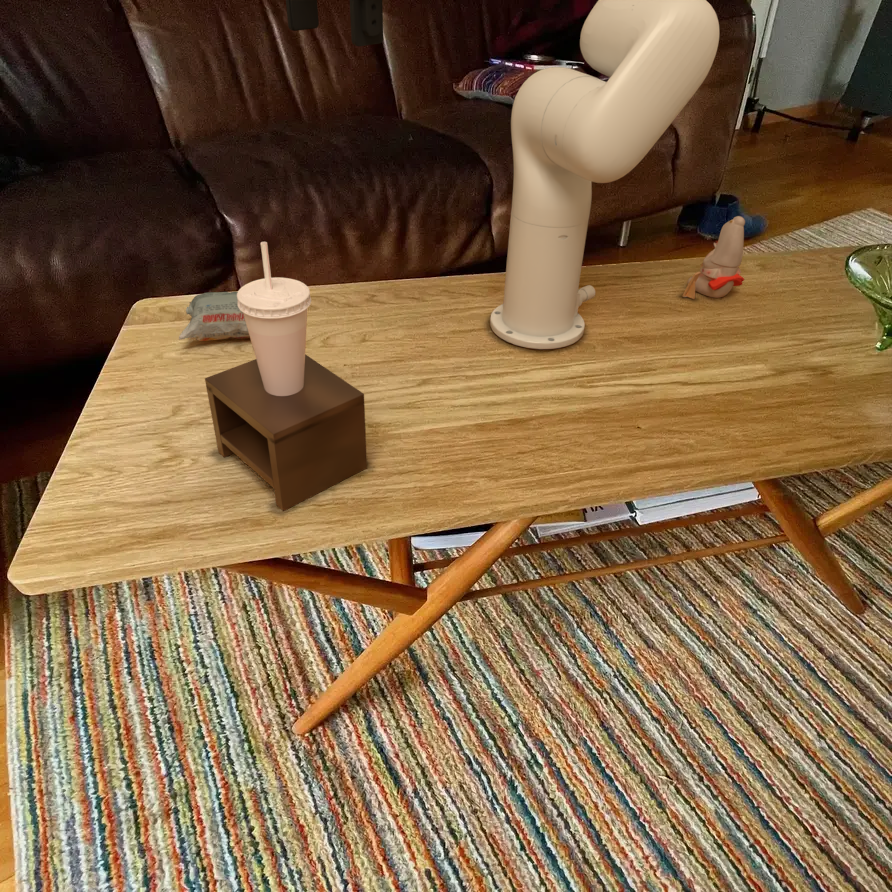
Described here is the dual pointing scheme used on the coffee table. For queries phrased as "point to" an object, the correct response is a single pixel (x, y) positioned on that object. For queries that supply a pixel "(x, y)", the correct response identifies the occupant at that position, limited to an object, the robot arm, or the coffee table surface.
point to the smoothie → (277, 328)
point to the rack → (290, 429)
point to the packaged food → (215, 317)
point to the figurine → (720, 263)
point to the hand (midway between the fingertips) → (334, 36)
